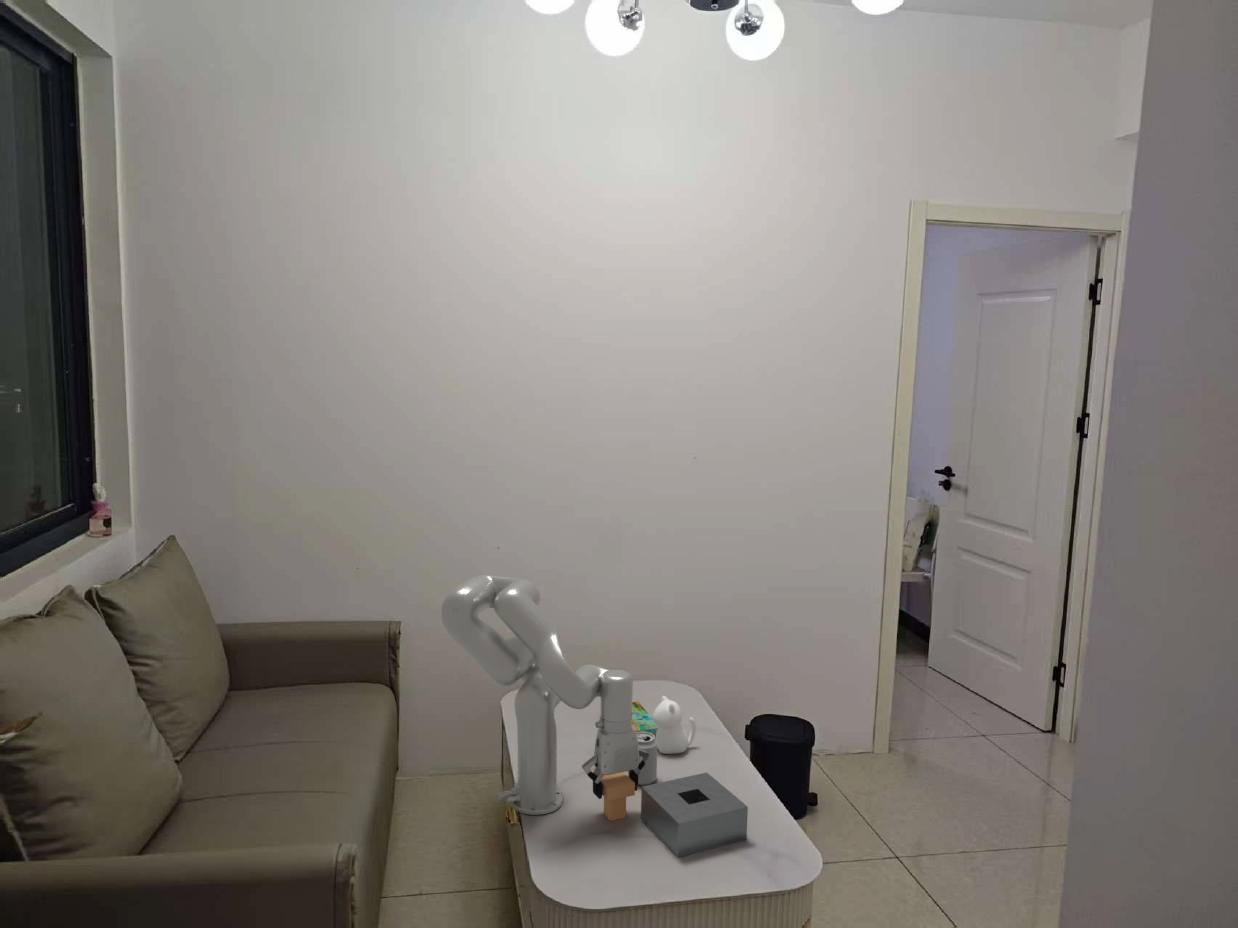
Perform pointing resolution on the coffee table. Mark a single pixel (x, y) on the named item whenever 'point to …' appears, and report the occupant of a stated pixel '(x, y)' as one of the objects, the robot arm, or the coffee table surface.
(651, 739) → the can
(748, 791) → the coffee table surface
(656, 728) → the puzzle game
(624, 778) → the tan cardboard box
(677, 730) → the cat figurine
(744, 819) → the grey square socket block
